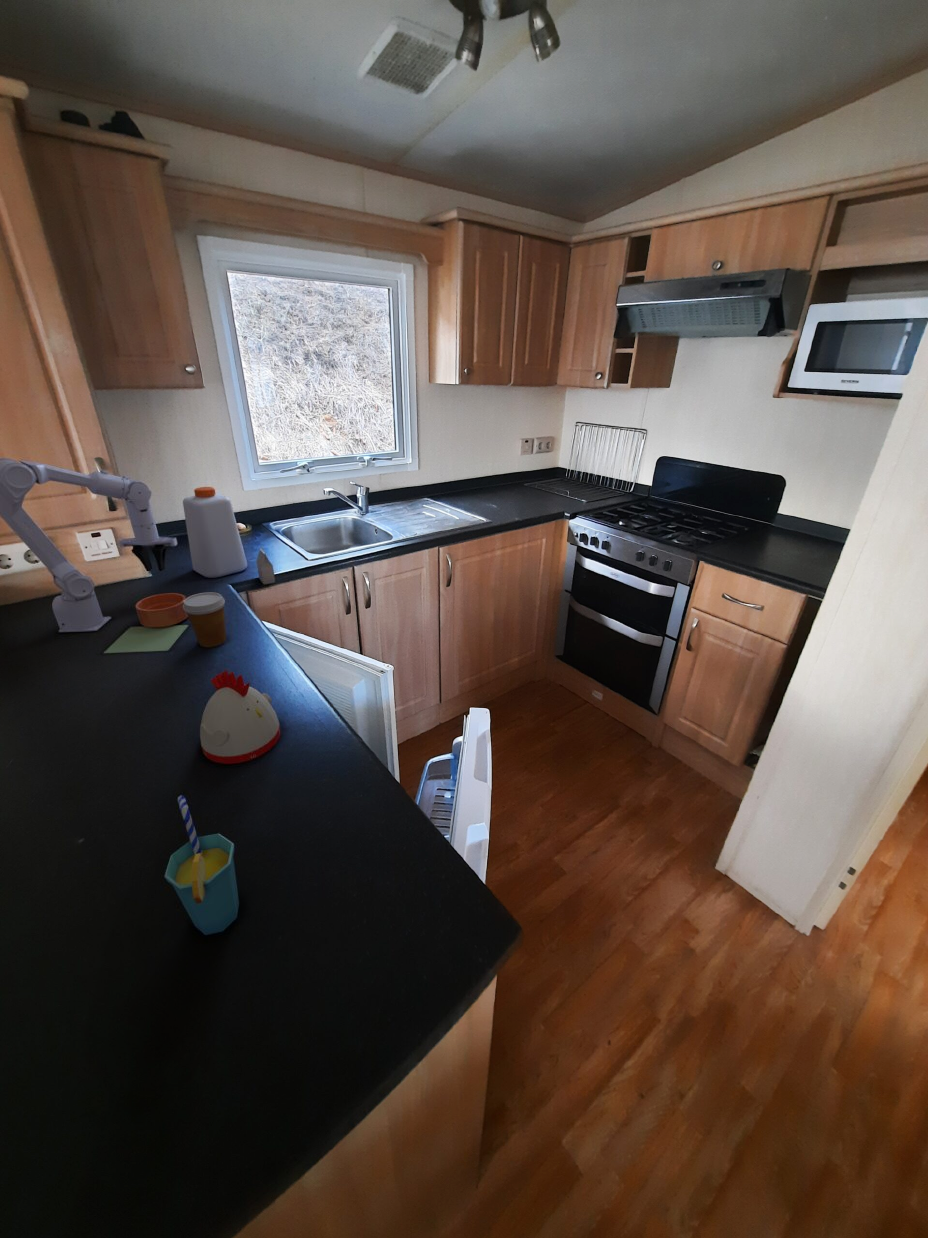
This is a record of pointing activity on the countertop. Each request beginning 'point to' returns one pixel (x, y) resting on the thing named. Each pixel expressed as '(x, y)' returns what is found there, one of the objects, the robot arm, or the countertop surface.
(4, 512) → the robot arm
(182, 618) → the bowl
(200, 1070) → the countertop surface
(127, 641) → the mat
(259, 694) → the kitchen timer
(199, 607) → the disposable coffee cup
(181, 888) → the cup
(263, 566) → the beige gable carton
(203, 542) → the plastic bottle
